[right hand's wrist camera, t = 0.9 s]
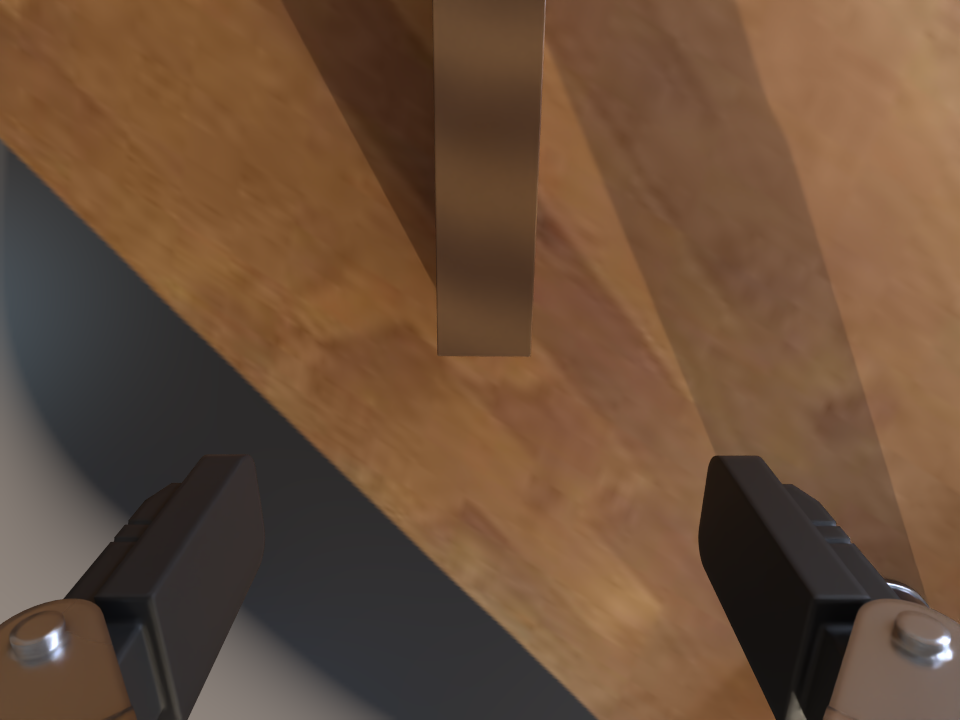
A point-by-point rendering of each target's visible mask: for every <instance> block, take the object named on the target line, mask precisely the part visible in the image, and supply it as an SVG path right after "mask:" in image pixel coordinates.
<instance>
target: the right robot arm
mask: <svg viewBox="0 0 960 720" xmlns="http://www.w3.org/2000/svg"><path fill="white" fill-rule="evenodd" d="M698 540H699V551H700V557H701V561H702V564H703V567H704V569H705V571H706V573H707V575H708V578H709V580H710V582H711V584H712V586H713V588H714V590H715V592H716V594H717V596H718V599H719V601H720V603H721V605H722V607H723V609H724V611H725V613H726V615H727V617H728V620H729V622H730V624H731V626H732V628H733V630H734V632H735V634H736V636H737V638H738V641H739V643H740V645H741V647H742V649H743V651H744V653H745V655H746V657H747V659H748V662H749V664H750V666H751V668H752V670H753V672H754V674H755V676H756V678H757V680H758V683H759V685H760V687H761V689H762V691H763V693H764V695H765V697H766V699H767V701H768V704H769V706H770V708H771V710H772V712H773V714H774V716H775V718H776V720H960V625H959V624H958V623H957V622H955V621H954V620H952V619H950V618H949V617H947V616H945V615H943V614H942V613H940V612H938V611H936V610H933V609H931V608H929V606H928V605H927V603H926V602H925V601H924V600H923V599H922V597H921V596H920V595H919V594H918V593H917V592H916V591H914V590H913V589H912V588H910V587H909V586H907V585H905V584H903V583H900V582H897V581H893V580H888V579H883V578H882V576H881V575H880V574H879V573H878V572H877V570H876V569H875V568H874V567H873V566H872V564H871V563H870V562H869V561H868V560H867V559H866V557H865V556H864V555H863V554H862V553H861V551H860V550H859V549H858V548H857V547H856V545H855V544H851V543H850V538H849V537H848V536H847V535H846V533H845V532H844V531H843V530H842V529H841V527H840V526H836V522H835V520H834V519H833V518H832V517H831V516H830V514H829V513H828V512H827V511H826V510H825V508H824V507H823V506H822V505H821V504H820V502H819V501H817V500H815V499H814V498H812V497H811V496H809V495H808V494H806V493H805V492H803V491H802V490H800V489H799V488H797V487H795V486H794V485H792V484H782V483H781V482H780V481H779V480H778V478H777V477H776V476H775V474H774V473H773V472H772V471H771V469H770V468H769V467H768V466H767V464H766V463H765V462H764V460H763V459H762V458H761V457H759V456H714V457H712V459H711V461H710V463H709V466H708V472H707V478H706V485H705V492H704V498H703V505H702V512H701V518H700V525H699V535H698ZM264 543H265V530H264V522H263V515H262V508H261V502H260V495H259V488H258V481H257V475H256V468H255V464H254V461H253V458H252V457H251V456H250V455H204V456H203V457H202V458H201V459H200V460H199V462H198V463H197V464H196V465H195V467H194V468H193V469H192V471H191V472H190V473H189V475H188V476H187V477H186V478H185V480H184V481H183V482H182V483H171V484H170V485H168V486H167V487H165V488H163V489H162V490H160V491H159V492H157V493H156V494H154V495H153V496H151V497H150V498H148V499H147V500H145V501H144V503H143V504H142V505H141V506H140V507H139V509H138V510H137V511H136V512H135V513H134V515H133V516H132V517H131V518H130V519H129V522H128V525H124V527H123V528H122V529H121V530H120V531H119V533H118V534H117V535H116V536H115V539H114V542H110V543H109V545H108V546H107V547H106V548H105V549H104V551H103V552H102V553H101V554H100V556H99V557H98V558H97V559H96V560H95V561H94V563H93V564H92V565H91V566H90V568H89V569H88V570H87V571H86V572H85V574H84V575H83V576H82V577H81V578H80V580H79V581H78V582H77V583H76V584H75V586H74V587H73V588H72V589H71V590H70V592H69V593H68V594H67V595H66V597H65V598H64V599H62V600H55V601H51V602H47V603H43V604H40V605H37V606H34V607H32V608H29V609H27V610H24V611H22V612H20V613H19V614H17V615H15V616H13V617H11V618H10V619H8V620H6V621H5V622H3V623H2V624H1V625H0V720H187V719H188V717H189V715H190V713H191V711H192V709H193V707H194V705H195V703H196V700H197V698H198V696H199V694H200V692H201V690H202V688H203V686H204V683H205V681H206V679H207V677H208V675H209V673H210V671H211V668H212V666H213V664H214V662H215V660H216V658H217V656H218V654H219V651H220V649H221V647H222V645H223V643H224V641H225V639H226V637H227V634H228V632H229V630H230V628H231V626H232V624H233V622H234V619H235V617H236V615H237V613H238V611H239V609H240V607H241V605H242V603H243V600H244V598H245V596H246V594H247V592H248V590H249V588H250V586H251V583H252V581H253V579H254V577H255V575H256V573H257V571H258V569H259V566H260V564H261V561H262V557H263V552H264Z"/></svg>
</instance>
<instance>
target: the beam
mask: <svg viewBox="0 0 960 720" xmlns="http://www.w3.org/2000/svg"><path fill="white" fill-rule="evenodd" d="M432 6H433V76H434V145H435V215H436V284H437V353H438V356H502V357H530V356H531V340H532V317H533V293H534V270H535V246H536V223H537V200H538V176H539V153H540V129H541V106H542V83H543V59H544V36H545V12H546V0H432Z"/></svg>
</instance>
